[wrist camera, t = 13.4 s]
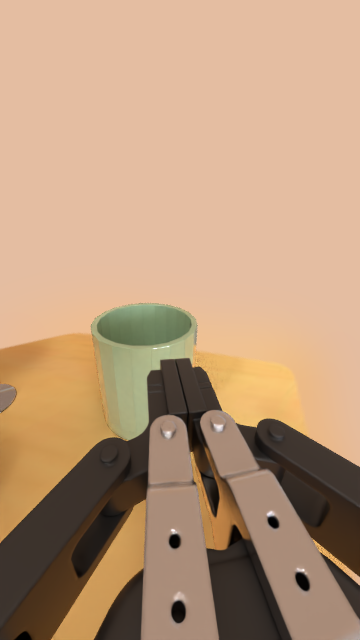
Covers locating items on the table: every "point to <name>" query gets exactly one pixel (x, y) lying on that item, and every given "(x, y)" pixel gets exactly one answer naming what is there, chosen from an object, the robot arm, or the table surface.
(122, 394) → the tumbler
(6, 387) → the wine glass
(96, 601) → the table surface
